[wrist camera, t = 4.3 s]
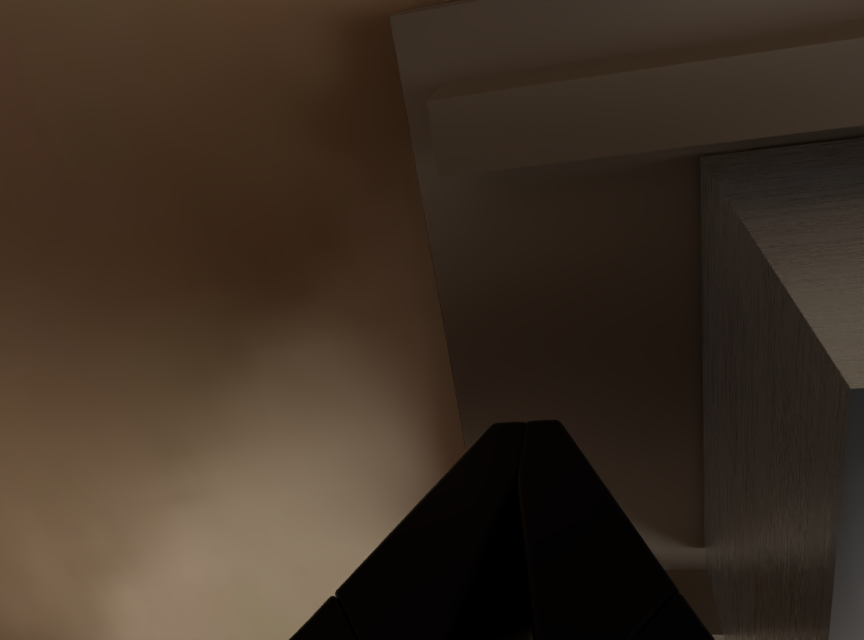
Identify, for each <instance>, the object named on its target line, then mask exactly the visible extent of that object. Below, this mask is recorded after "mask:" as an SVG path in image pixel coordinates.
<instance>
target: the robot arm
mask: <svg viewBox="0 0 864 640" xmlns="http://www.w3.org/2000/svg"><path fill="white" fill-rule="evenodd" d="M335 596H336V597H335ZM335 596H331V597H330V598H329V599H328V600H327V601H326V602H325V603H324V604H323V605H322V606H321V607H320V608H319V609H318V610H317V611H316V612H315V614H314V615H313V616H312V617H311V618H310V619H309V620H308V621H307V622H306V623H305V624H304V625H303V626H302V627H301V628H300V629H299V630H298V631H297V632H296V633H295V634H294V635H293V636H292V637H291V638H290V639H289V640H715V639H714V637H713V636H712V635H711V633H710V632H709V631H708V630H707V628H706V627H705V626H704V624H703V623H702V622H701V620H700V619H699V617H698V616H697V614H696V613H695V612H694V610H693V609H692V607H691V606H690V604H689V603H688V602H687V600H686V599H685V597H684V596H683V595H682V594H679V590H678V588H677V587H676V585H675V584H674V582H673V581H672V579H671V578H670V577H669V575H668V574H667V572H666V571H665V569H664V568H663V567H662V565H661V564H660V562H659V561H658V559H657V558H656V557H655V555H654V554H653V552H652V551H651V550H650V548H649V547H648V545H647V544H646V542H645V541H644V540H643V538H642V537H641V535H640V534H639V532H638V531H637V530H636V528H635V527H634V525H633V524H632V522H631V521H630V520H629V518H628V517H627V515H626V514H625V512H624V511H623V510H622V508H621V507H620V505H619V504H618V502H617V501H616V500H615V498H614V497H613V495H612V494H611V492H610V491H609V490H608V488H607V487H606V485H605V484H604V482H603V481H602V480H601V478H600V477H599V475H598V474H597V473H596V471H595V470H594V468H593V467H592V465H591V464H590V463H589V461H588V460H587V458H586V457H585V455H584V454H583V453H582V451H581V450H580V448H579V447H578V445H577V444H576V443H575V441H574V440H573V438H572V437H571V435H570V434H569V433H568V431H567V430H566V428H565V427H564V425H563V424H562V423H561V422H560V421H559V420H556V419H553V420H537V421H529V422H527V423H525V422H521V421H520V422H503V423H494V424H493V425H491V426H490V427H489V428H488V429H487V430H486V431H485V432H484V434H483V435H482V436H481V437H480V438H479V439H478V440H477V441H476V442H475V443H474V444H473V445H472V446H471V447H470V448H469V450H468V451H467V452H466V453H465V454H464V455H463V456H462V457H461V458H460V459H459V460H458V461H457V462H456V463H455V464H454V466H453V467H452V468H451V469H450V470H449V471H448V472H447V473H446V474H445V475H444V476H443V477H442V478H441V479H440V480H439V482H438V483H437V484H436V485H435V486H434V487H433V488H432V489H431V490H430V491H429V492H428V493H427V494H426V495H425V496H424V498H423V499H422V500H421V501H420V502H419V503H418V504H417V505H416V506H415V507H414V508H413V509H412V510H411V511H410V513H409V514H408V515H407V516H406V517H405V518H404V519H403V520H402V521H401V522H400V523H399V524H398V525H397V526H396V527H395V529H394V530H393V531H392V532H391V533H390V534H389V535H388V536H387V537H386V538H385V539H384V540H383V541H382V542H381V543H380V545H379V546H378V547H377V548H376V549H375V550H374V551H373V552H372V553H371V554H370V555H369V556H368V557H367V558H366V559H365V561H364V562H363V563H362V564H361V565H360V566H359V567H358V568H357V569H356V570H355V571H354V572H353V573H352V574H351V575H350V577H349V578H348V579H347V580H346V581H345V582H344V583H343V584H342V585H341V586H340V587H339V588H338V589H337V590H336V592H335Z"/></svg>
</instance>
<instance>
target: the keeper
mask: <svg viewBox="0 0 864 640" xmlns="http://www.w3.org/2000/svg"><path fill="white" fill-rule="evenodd" d="M700 179H701V267H702V356H703V445H704V534H705V560H706V565H707V569H708V573H709V578H710V582H711V586H712V591H713V595H714V600H715V604H716V608H717V613H718V617H719V621H720V626H721V630H722V634H723V639H724V640H864V137H861V138H852V139H844V140H836V141H827V142H819V143H810V144H802V145H794V146H785V147H777V148H768V149H760V150H752V151H743V152H735V153H726V154H718V155H710V156H701V157H700Z"/></svg>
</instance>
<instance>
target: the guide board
mask: <svg viewBox="0 0 864 640" xmlns="http://www.w3.org/2000/svg"><path fill="white" fill-rule="evenodd" d="M389 18H390V24H391V29H392V35H393V41H394V46H395V52H396V58H397V63H398V69H399V75H400V80H401V86H402V92H403V97H404V103H405V109H406V114H407V120H408V126H409V131H410V137H411V142H412V148H413V154H414V159H415V165H416V171H417V176H418V182H419V188H420V193H421V199H422V205H423V210H424V216H425V222H426V227H427V233H428V239H429V244H430V250H431V256H432V261H433V267H434V273H435V278H436V284H437V290H438V295H439V301H440V306H441V312H442V318H443V323H444V329H445V335H446V340H447V346H448V352H449V357H450V363H451V369H452V374H453V380H454V386H455V391H456V397H457V403H458V408H459V414H460V420H461V425H462V431H463V437H464V442H465V448H466V452H467V451H468V450H469V448H470V447H471V446H472V445H473V444H474V443H475V442H476V441H477V440H478V439H479V438H480V437H481V436H482V435H483V434H484V432H485V431H486V430H487V429H488V428H489V427H490V426H491V425H493V424H494V423H503V422H520V421H521V422H525V423H527V422H529V421H537V420H553V419H556V420H559V421H560V422H561V423H562V424H563V425H564V427H565V428H566V430H567V431H568V433H569V434H570V435H571V437H572V438H573V440H574V441H575V443H576V444H577V445H578V447H579V448H580V450H581V451H582V453H583V454H584V455H585V457H586V458H587V460H588V461H589V463H590V464H591V465H592V467H593V468H594V470H595V471H596V473H597V474H598V475H599V477H600V478H601V480H602V481H603V482H604V484H605V485H606V487H607V488H608V490H609V491H610V492H611V494H612V495H613V497H614V498H615V500H616V501H617V502H618V504H619V505H620V507H621V508H622V510H623V511H624V512H625V514H626V515H627V517H628V518H629V520H630V521H631V522H632V524H633V525H634V527H635V528H636V530H637V531H638V532H639V534H640V535H641V537H642V538H643V540H644V541H645V542H646V544H647V545H648V547H649V548H650V550H651V551H652V552H653V554H654V555H655V557H656V558H657V559H658V561H659V562H660V564H661V565H662V567H663V568H664V569H665V571H666V572H667V574H668V575H669V577H670V578H671V579H672V581H673V582H674V584H675V585H676V587H677V588H678V590H679V594H682V595H683V596H684V597H685V599H686V600H687V602H688V603H689V604H690V606H691V607H692V609H693V610H694V612H695V613H696V614H697V616H698V617H699V619H700V620H701V622H702V623H703V624H704V626H705V627H706V628H707V630H708V631H709V632H710V633H711V635H712V636H713V637H714V639H715V640H724V639H723V634H722V630H721V626H720V621H719V617H718V613H717V608H716V604H715V600H714V595H713V591H712V586H711V582H710V578H709V573H708V569H707V565H706V560H705V534H704V445H703V356H702V267H701V179H700V157H701V156H710V155H718V154H726V153H735V152H743V151H752V150H760V149H768V148H777V147H785V146H794V145H802V144H810V143H819V142H827V141H836V140H844V139H852V138H861V137H864V0H459V1H453V2H448V3H442V4H436V5H430V6H425V7H419V8H413V9H407V10H404V11H401V12H399V13H396V14H394V15H391V16H389Z"/></svg>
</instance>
